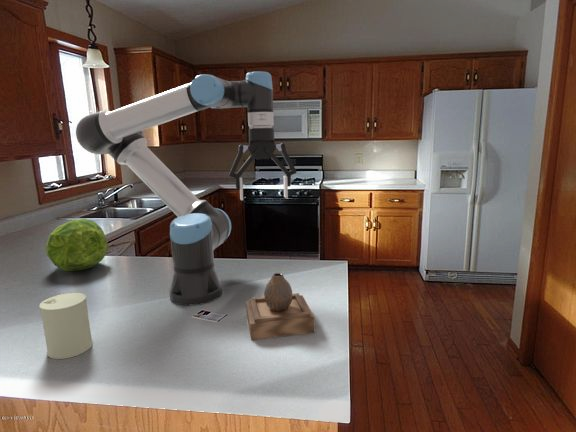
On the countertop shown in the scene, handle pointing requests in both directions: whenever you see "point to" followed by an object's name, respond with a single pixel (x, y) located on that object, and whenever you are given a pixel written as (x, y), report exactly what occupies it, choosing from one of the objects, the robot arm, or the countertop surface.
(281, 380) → the countertop surface
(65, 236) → the lettuce
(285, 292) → the vase
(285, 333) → the brown wooden flat box
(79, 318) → the can
